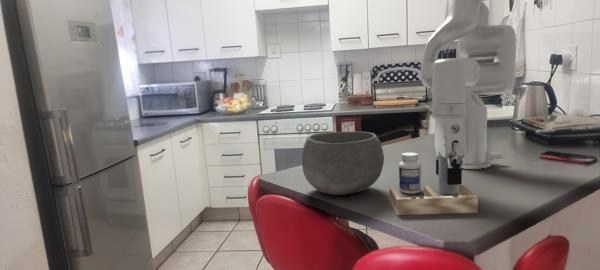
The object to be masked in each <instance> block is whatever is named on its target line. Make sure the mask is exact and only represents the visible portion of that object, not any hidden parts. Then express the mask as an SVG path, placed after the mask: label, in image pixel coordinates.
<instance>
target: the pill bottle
mask: <svg viewBox="0 0 600 270" xmlns="http://www.w3.org/2000/svg"><path fill="white" fill-rule="evenodd" d="M418 160H419V154H418V153H417V152H403V153H401V161H400V162H399V164H398V177H399V182H398V185H399V191H400V192H401V193H403V194H409V195H410V194H418V193H420V192H421V191H422V165H421V162H420V161H418Z"/></svg>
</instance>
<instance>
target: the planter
mask: <svg viewBox="0 0 600 270" xmlns="http://www.w3.org/2000/svg"><path fill="white" fill-rule="evenodd" d="M451 161H452V162H453V160H451ZM447 168H449V165H448V161H447V159H446V158H445V157H443V156H441V153H440V152H439V175H438V192H439V193H440V194H443V195H446V196H452V195H458V185H448V184H447Z"/></svg>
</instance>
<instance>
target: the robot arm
mask: <svg viewBox="0 0 600 270" xmlns="http://www.w3.org/2000/svg"><path fill="white" fill-rule="evenodd" d="M484 1H486V0H446V6H445V13H444V14H445V15H444V22H443V23H442V24H441V25H440V26H439V27H438V28H437V29H436V30H435V31H434V32H433V34H431V36H430V37H429V39H428V40H427V42H426V43H425V46H424V49H423V50H422V57H421V63H420V80H421V83H422V85H423V86H424V87H426V88H428V89H432V90H431V91H432V92H431V93H432V94H431V95H432V104H431V105H432V110H431V113H432V115H431V116H432V117H434V118H435V123H434V150H435V152H436V154H435V174H436V176H439V152H440V153H441V156H443V157H445V158H446V159H447V161H448V165H449V168H447V184H448V185H462V183H463V182H462V178H463V176H462V175H463V174H462V173H463V171H462V170H463V169H464V170H483V169H482V168H484V169H488V168H487V167H489V168H491V167H492V166H491V165H492V160H493V159H494V160H502V159H504V154H503V152H494V151H491V152H490V151H489V150H487V143H488V142H487V137H488V135H487V133H488V131H487V130H488V108H487V106H486V104H485V103H484V102H483V100H482V99H481V98H480V97H479V96H483V95H484V96H485V95H487V96H488V95H507V94H510V93H511V92H512V91H513V89H514V87H515V83H516V82H515V81H516V61H517V60H516V59H517V57H516V56H517V55H516V54H517V35H516V31H515V29H514V28H513V26H511V25H509V24H495V25H493V24H491V25H490V24H489V23H490V20H489V18H490V17H489V16H490V10H489V7H488V6H487V5H486V3H484ZM456 41H457V53H458V55H459V57H456V58H455V57H449V58H436V57H437V56H438V54H439V53H440V52H441V50H442V49H443V48H445V47H447V46H448V45H449V44H451V43H454V42H456ZM478 59H479V60H481V59H482V60H483V59H496V60H498V61H491V62H478V61H477V60H478ZM451 160H453V162H452V161H451ZM490 166H491V167H490ZM462 168H463V169H462Z"/></svg>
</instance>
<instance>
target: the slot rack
mask: <svg viewBox="0 0 600 270" xmlns="http://www.w3.org/2000/svg"><path fill="white" fill-rule="evenodd" d="M478 201H479V197H478V195H476V194H475V193H473V192H472V191H471V190H470V189H469V188H467V187H466V186H465V185H464V184H461V185H458V193H457V194H452V195H440V196H438V195H437V194H436V193H435V192H434V191H433V190H432V188H431V187H429V186H428V185H426V186H425V185H424V186H423V195H418V196H415V195H413V196H410V197H405V196H404V197H401V196H400V195H399V193H398V191H397V190H396V188H395V187H389V202H390V204H391V206H392V209H393V211H394V212H395V214H396V215H397V216H407V215H408V216H410V215H442V214H444V215H445V214H449V215H450V214H474V213H475V214H478V205H479V203H478Z"/></svg>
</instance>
